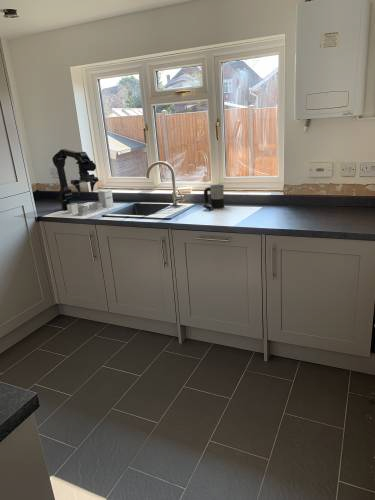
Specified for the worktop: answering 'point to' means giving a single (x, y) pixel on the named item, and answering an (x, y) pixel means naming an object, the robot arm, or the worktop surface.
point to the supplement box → (106, 198)
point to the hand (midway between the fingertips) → (86, 192)
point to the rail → (84, 209)
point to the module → (72, 208)
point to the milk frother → (214, 197)
